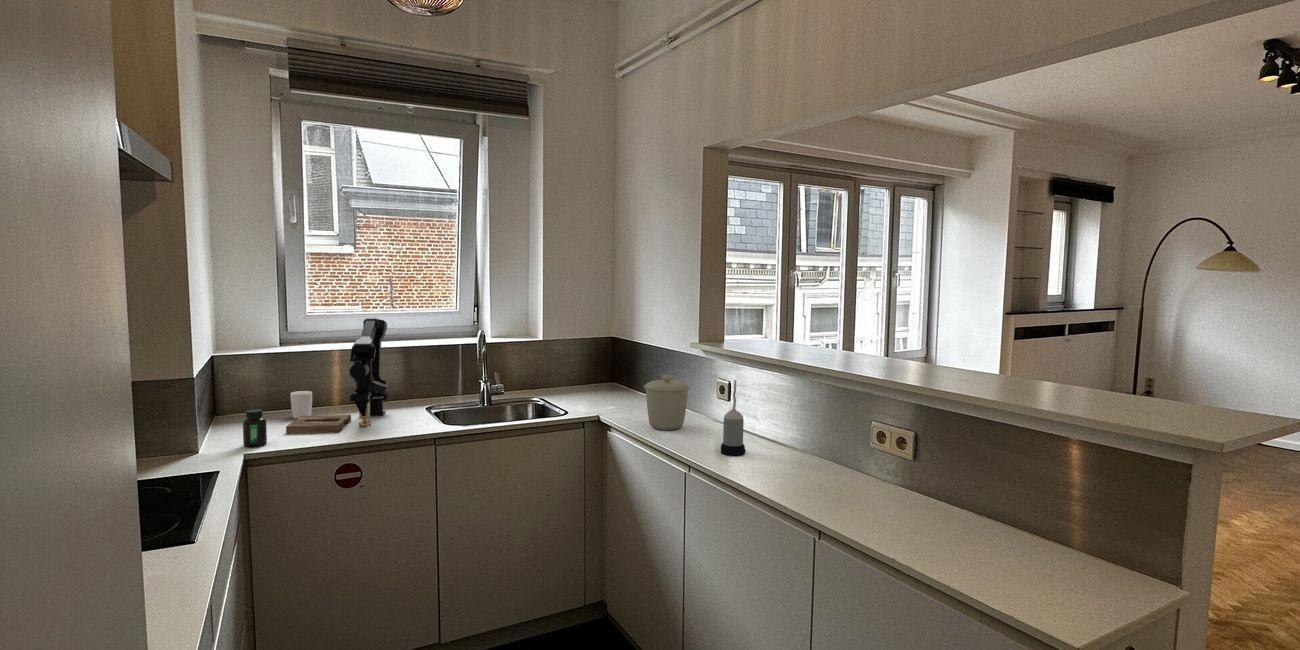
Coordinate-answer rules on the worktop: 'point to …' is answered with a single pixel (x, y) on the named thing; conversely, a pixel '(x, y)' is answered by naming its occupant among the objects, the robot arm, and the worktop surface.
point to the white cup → (301, 403)
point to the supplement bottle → (254, 429)
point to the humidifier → (733, 431)
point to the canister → (666, 403)
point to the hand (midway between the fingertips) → (364, 415)
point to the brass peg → (365, 417)
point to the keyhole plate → (318, 424)
